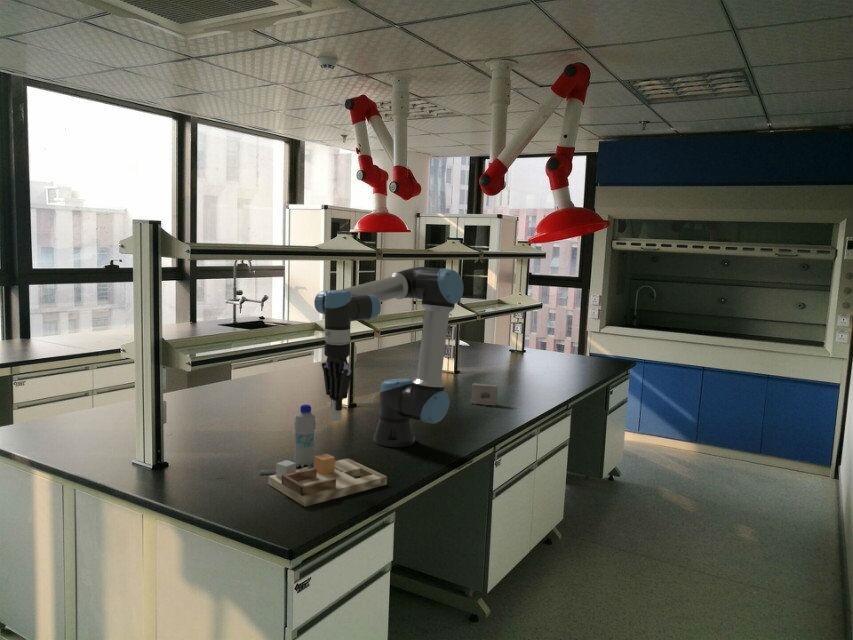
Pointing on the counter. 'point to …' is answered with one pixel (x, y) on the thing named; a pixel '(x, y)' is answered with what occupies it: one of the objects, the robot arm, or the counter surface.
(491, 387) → the pale printed box
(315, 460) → the cube
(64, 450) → the counter surface
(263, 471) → the crook tool
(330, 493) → the board
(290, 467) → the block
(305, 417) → the bottle
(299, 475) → the cubby
